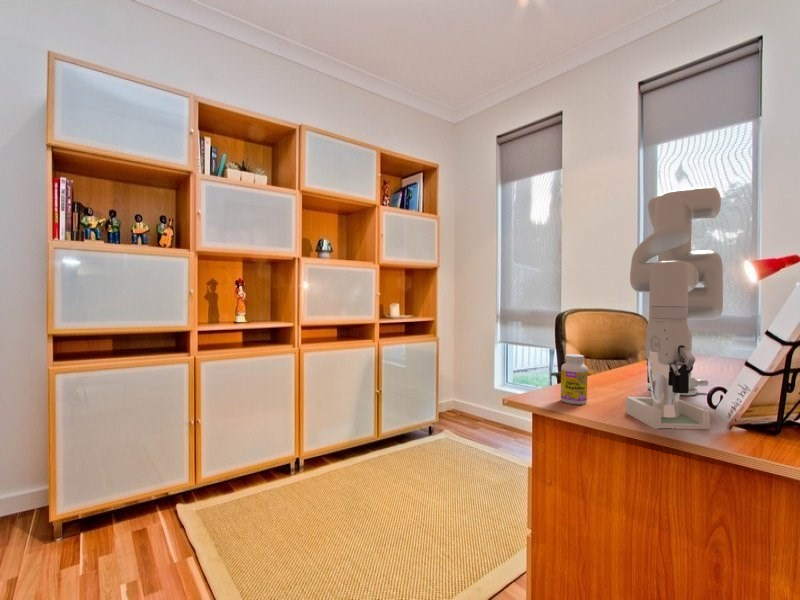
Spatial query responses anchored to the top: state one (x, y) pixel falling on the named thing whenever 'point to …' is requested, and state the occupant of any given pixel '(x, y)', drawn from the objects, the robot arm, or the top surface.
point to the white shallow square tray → (652, 417)
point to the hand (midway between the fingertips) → (666, 387)
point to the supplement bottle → (574, 380)
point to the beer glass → (663, 388)
